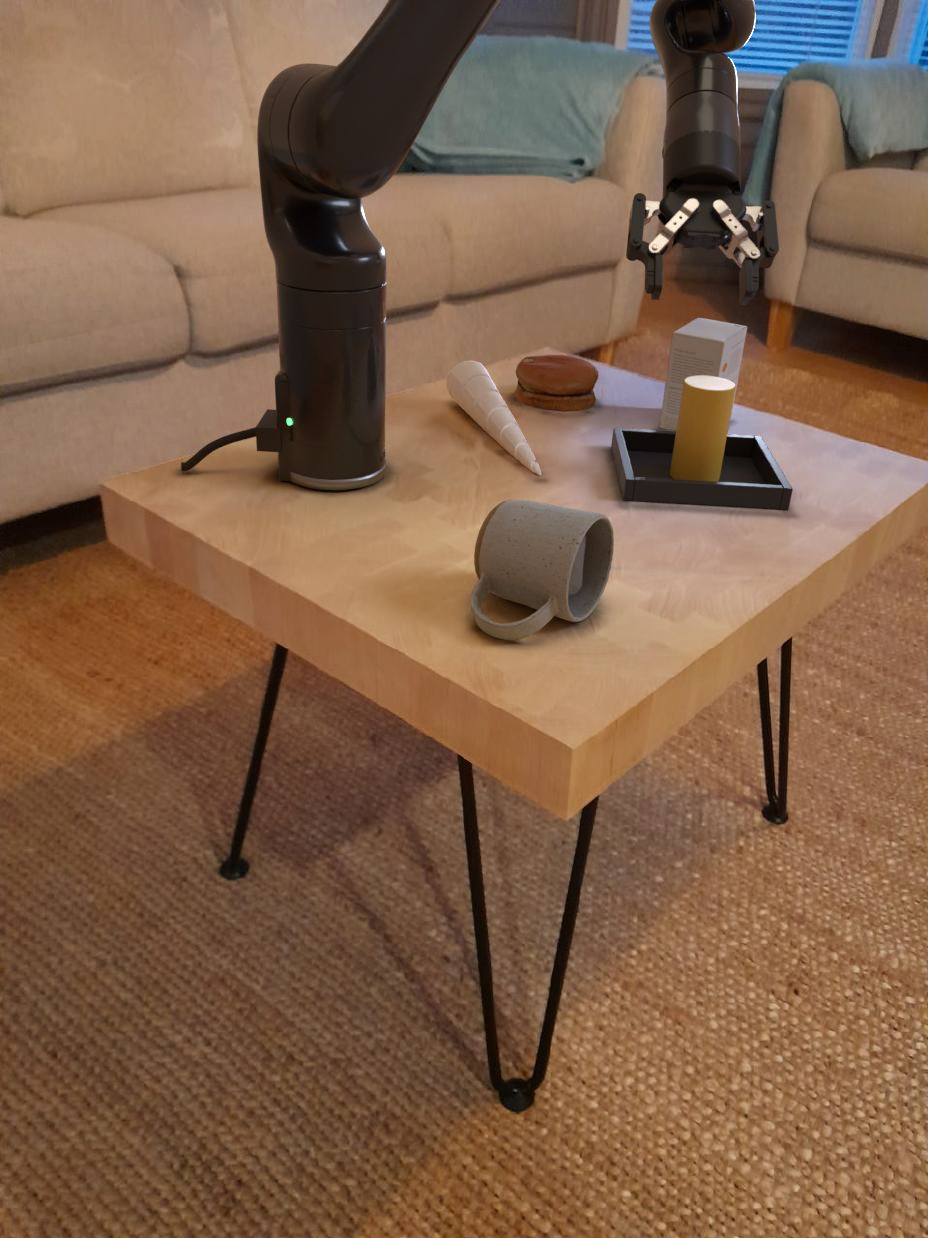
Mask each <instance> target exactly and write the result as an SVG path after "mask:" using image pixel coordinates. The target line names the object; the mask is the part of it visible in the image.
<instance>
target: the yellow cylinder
mask: <svg viewBox="0 0 928 1238" xmlns="http://www.w3.org/2000/svg"><path fill="white" fill-rule="evenodd" d="M735 388H736V385H735V384H734V383H733V382H732V381H729V380H727V379H724V378H720V377H715V376H704V375H699V376H690V377H687V378H685V380H684V383H683V390H682V396H681V403H680V409H679V416H678V423H677V429H676V436H675V442H674V449H673V456H672V462H671V469H670V475H671V477H672V478H674V479H680V480H698V481H715V482H718V481H719V478H720V473H721V467H722V461H723V456H724V450H725V444H726V439H727V434H729V428H730V427H729V426H730V421H731V418H730V416H731V417H732V415H731V410H732V411H733V409H732V405H733V406H734V404H733V399H734V394H735V395H736V393H735ZM736 389H737V388H736ZM734 400H735V399H734Z"/></svg>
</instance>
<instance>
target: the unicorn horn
mask: <svg viewBox="0 0 928 1238" xmlns="http://www.w3.org/2000/svg"><path fill="white" fill-rule="evenodd" d="M446 390H447V392H448V393H447V394H448V395H449V396H450V398H452V400H453V401H454V402H455V403H456V404H457V405H458V406H459V407H460V408H461V409H462V410H463V411H464V412H465V413H466V414H467V415H468V416H469V417H470V418H471V419H472V420H473V421H474V422H475V423H476V424H478V425H479V427H481V428H482V430H483V431H485V433H487V434H488V435H489V436H490V437H491V438H492V439H493V440H494V441H495V442H497V444H498V445H500V446H501V447H502V448H503V449H504V450H505V451H506V452H508V454H510V455H511V456H512V457H513V458H514V459H515V460H517V461H519V463H521V464H522V465H523V466H524V467H525V468H527V469H528V470H529V471H531V472H532V473H533V474H536V475H537V476H541V475H542V471H541V467H540V465H539V462H538V461H537V459H536V456H535V453H534V452H533V450H532V448H531V446H530V444H529V443H528V440H527V438H526V437H525V435H524V433H523V432H522V429H521V427H520V426H519V424H518V422H517V420H516V419H515V417H514V415H513V413H512V412H511V410H510V408H509V406H508V404H507V403H506V401H505V399H504V398H503V396H502V395H501V392H500V391H499V389H498V387H497V386H496V384H495V382H494V381H493V378H492V377H491V375H490V373H489V371H488V370H487V368H485V366H484V365H483V364H482V363H481V362H479V361H477V360H472V359H471V360H464V361H460V362H458V363H456V364H455V365H454V366H453V367H452V368H450V370H449V372H448V373H447V376H446Z"/></svg>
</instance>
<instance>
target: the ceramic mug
mask: <svg viewBox="0 0 928 1238" xmlns="http://www.w3.org/2000/svg"><path fill="white" fill-rule="evenodd" d="M614 546H615V538H614V528H613V525H612V523H611V521H610V519H609V518H608V516H606V515H605V514H603V513H600V512H595V511H588V510H582V509H577V508H570V507H566V506H559V505H554V504H548V503H544V502H539V501H534V500H528V499H527V500H526V499H509V500H503V501H502V502H500V503H498V504H497V505H495V506H494V507H493V508H492V509H491V510H490V511H489V513H488V514H487V515H486V517H485V518H484V521H482V524H481V526H480V528H479V531H478V533H477V537H476V541H475V545H474V555H473V565H474V571H475V574H476V577H477V579H478V581H477V582H476V583H475V585H474V587H473V589H472V591H471V595H470V610H471V613H472V616H473V619H474V621H475V623H476V625H477V626H478V627H479V628H480V630H481V631H482V632H484V634H487V635H489V636H490V637H493V638H496V639H499V640H505V641H506V640H507V641H514V640H520V639H524V638H528V637H530V636H532V635H535V634H536V633H538V632H539V631H540V630H542V629H543V628H544V627H545V626H546V625H547V624H548V623H549V622H550V621H551V620H553V618H554V617H556V618H559V619H562V620H565V621H568V622H572V623H578V622H582V621H584V620H585V619H587V618H588V617H589V616H590V615H591V614H592V613H593V612H594V610H595V609H596V607H597V605H598V604H599V602H600V600H601V598H602V597H603V594H604V593H605V590H606V587H607V584H608V582H609V578H610V573H611V571H612V563H613V558H614V557H613V556H614ZM488 593H491V594H493V595H495V596H497V597H498V598H501V599H504V600H506V601H507V600H508V601H510V602H514V603H517V604H520V605H523V606H526V607H529V608H531V609H533V610H536V611H535V612H533V613H532V614H530V615H529V616H527V617H525V618H523V619H520V620H518V621H513V622H507V623H498V622H494V621H492V620H491V618H490V617H489V616H487V615H485V614H484V613H483V611H482V610H481V606H482V603H483V601H484V598H485V597H486V595H487V594H488Z"/></svg>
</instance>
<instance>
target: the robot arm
mask: <svg viewBox="0 0 928 1238" xmlns="http://www.w3.org/2000/svg"><path fill="white" fill-rule="evenodd" d="M501 1H502V0H388V1H387V2H386V3H385V5H384V6H383V9H382V10H381V12H380V13H379V14H378V15H377V17H376V18H375V20H374V21H373V23H372V24H371V25H370V27H369V28H368V29H367V31H366V32H365V33H364V35H363V36H362V38H361V39H360V40H359V41H358V43H357V44H356V45H355V46H354V47H353V49H352V50H351V51H350V52H349V53H348V54H347V55H346V56H345V58H344V59H342V61H341V62H340V63H338V64H337V65H333V64H332V65H331V64H323V63H306V62H305V63H298V64H294V65H291V66H288V67H287V68H285V69H283V70H281V71H280V72H279V73H278V74H276V75H275V77H274V78H273V79H272V80H271V81H270V83H269V84H268V85H267V87H266V89H265V91H264V93H263V95H262V98H261V102H260V105H259V108H258V116H257V126H256V127H257V130H256V131H257V132H256V141H257V142H256V143H257V159H258V160H257V161H258V173H259V184H260V186H259V187H260V195H261V207H262V219H263V228H264V233H265V237H266V241H267V245H268V247H269V249H270V251H271V255H272V256H273V260H274V267H275V271H274V272H275V281H276V282H275V283H276V302H277V303H276V305H277V322H278V323H277V326H278V327H277V328H278V329H277V330H278V331H277V332H278V351H279V352H278V353H279V354H278V355H279V356H278V357H279V370H278V371H277V373H276V374H275V376H274V396H275V409H271V408H269V409H266V411H265V412H264V413H263V415H262V417H261V418H260V420H259V421H258V423H257V424H256V426H255V427H252V428H248V429H243V430H240V431H237V432H233V433H229V434H227V435H224V436H222V437H219V438H216V439H214V440H212V441H210V442H209V443H207V444H206V445H204V446H203V447H202V448H201V449H200V450H198V451H197V452H195V454H194V455H192V457H190V458H189V459H187V460H186V461H181V462H180V470H181V472H188V471H190V470H192V469H194V468H195V467H196V466H197V465H198V464H199V463H200V462H202V461H203V460H204V459H205V458H206V457H207V456H209V455H210V454H212V453H213V452H215V451H216V450H219V449H220V448H223V447H226V446H227V445H230V444H234V443H237V442H242V441H244V440H248V439H252V438H255V441H256V451H257V452H264V453H265V452H267V453H277V461H278V463H277V464H278V480H279V481H280V482H281V481H282V482H290V483H294V484H296V485H298V486H301V487H305V488H309V489H316V490H323V491H324V490H325V491H346V490H354V489H360V488H364V487H365V488H366V487H368V486H371V485H374V484H376V483H378V482H379V481H381V480H382V479H384V477H385V475H386V473H387V459H386V455H387V454H386V451H387V450H386V393H387V391H386V388H387V387H386V386H387V385H386V382H387V379H386V378H387V371H386V370H387V254H386V250H385V248H384V246H383V244H382V243H381V242H380V240H379V238H377V236H376V235H375V234H374V232H373V231H372V229H371V227H370V225H369V223H368V221H367V218H366V215H365V211H364V205H363V198H366V197H369V196H371V195H374V193H376V192H378V191H379V190H381V189H382V188H383V187H384V186H385V185H386V184H387V183H388V182H389V181H390V180H391V179H392V178H393V177H394V175H395V174H396V172H397V171H398V170H399V168H400V166H401V165H402V163H403V162H404V161H405V159H406V157H407V155H408V154H409V151H411V148H412V146H413V145H414V143H415V141H416V140H417V138H418V135H419V134H420V132H421V131H422V128H423V126H424V124H425V123H426V121H427V119H428V117H429V115H430V113H431V112H432V109H433V108H434V106H435V104H436V102H437V101H438V99H439V97H440V95H441V94H442V91H443V90H444V88H445V86H446V84H447V82H448V80H449V79H450V77H451V75H452V74H453V72H454V71H455V69H456V67H457V65H458V64H459V63H460V61H461V60H462V58H463V56H464V55H465V54H466V53H467V51H468V49H470V46H472V44H473V43H474V41H475V40H476V38H477V37H478V36H479V34H480V32H481V31H482V29H483V28H484V27H485V25H486V23H487V22H488V21H489V19H490V18H491V16H492V15H493V13H494V12H495V10H496V8H497V7H498V5H499V4H500V2H501ZM755 25H756V5H755V1H754V0H656V1H655V3H654V4H653V5H652V8H651V11H650V15H649V31H650V37H651V41H652V43H653V47H654V49H655V52H656V54H657V58H658V60H659V62H660V66H661V68H662V72H663V76H664V80H665V90H666V91H665V92H666V95H665V96H666V99H665V101H666V103H665V109H666V110H665V127H664V131H663V142H662V143H663V145H662V149H661V157H662V198H661V200H660V201H656V200H649V199H648V200H647V196H646V195H645V194H644V193H642V192H638V193H635V194H634V196H633V199H632V204H631V208H630V212H629V218H628V219H629V220H628V232H627V243H626V250H625V252H626V253H625V257H626V259H627V260H628V261H630V262H636V261H639V262H641V263H642V264H643V265H644V290H645V293H646V294H647V295H650V300H652V301H655V300H656V301H660V297H661V295H662V291H663V274H664V273H663V272H664V271H663V268H664V267H663V263H664V262H663V261H664V257H665V256H668V255H669V254H670V253H671V252H672V251H673V250H674V249H675V248H676V246H677V245H678V244H679V245H680V246H683V249H695V248H696V249H697V248H702V249H705V250H714V251H715V250H716V249H717V248H719V249H720V250H721V252H722V253H723V255H725V257H726V258H728V259H729V260H731V259H732V260H733V262H734V263H735V264H736V265H737V266H738V267H739V268H740V270H739V272H738V284H739V285H738V286H739V287H738V289H739V290H738V291H739V293H738V294H739V295H738V297H739V305H740V306H748V305H749V303H750V301H751V300H752V301H753V300H754V298H755V297H756V294H757V292H758V289H759V287H760V282H759V281H760V278H759V277H760V272H759V271H760V270H759V269H760V268H763V269H770V268H771V267H772V266H773V263H774V260H775V259H776V256H777V255H778V253H779V251H780V244H779V234H778V233H779V232H778V223H777V211H776V204H775V202H774V201H773V200H771V199H767V200H764V201H763V202H762V204H761V205H756V206H755V205H748V206H747V205H746V204H745V202H744V201H743V199H742V167H741V166H742V162H741V161H742V159H741V158H742V157H741V156H742V155H741V127H740V120H739V114H738V74H737V68H736V66H735V64H734V62H733V60H732V59H731V58H730V56H728V55H727V54H729V53H733V52H735V51H738V50H740V49H741V48H743V47H744V46H745V45H746V44H747V43H748V41H749V40H750V38H751V36H752V34H753V32H754V28H755ZM655 216H657V219H658V220H659V221H660V223H661V224H662V225H663V227H662V229H661V231H660V232H659V234H657V236H656V237H655V238H653V240H652V241H651V242H650V243H649V242H647V241H644V240H643V239H644V230H645V229H644V227H645V226H646V225H647V224H650V222H651V220H652V218H653V217H655ZM744 221H746V222H748V223H749V225H750V227H751V230H752V232H756V238H757V246H756V244H755V243H754V242H753V241H752V240H751V238H750V237H749V232H748V230H747V228H745V227H744V225H742V223H743V222H744Z"/></svg>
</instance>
